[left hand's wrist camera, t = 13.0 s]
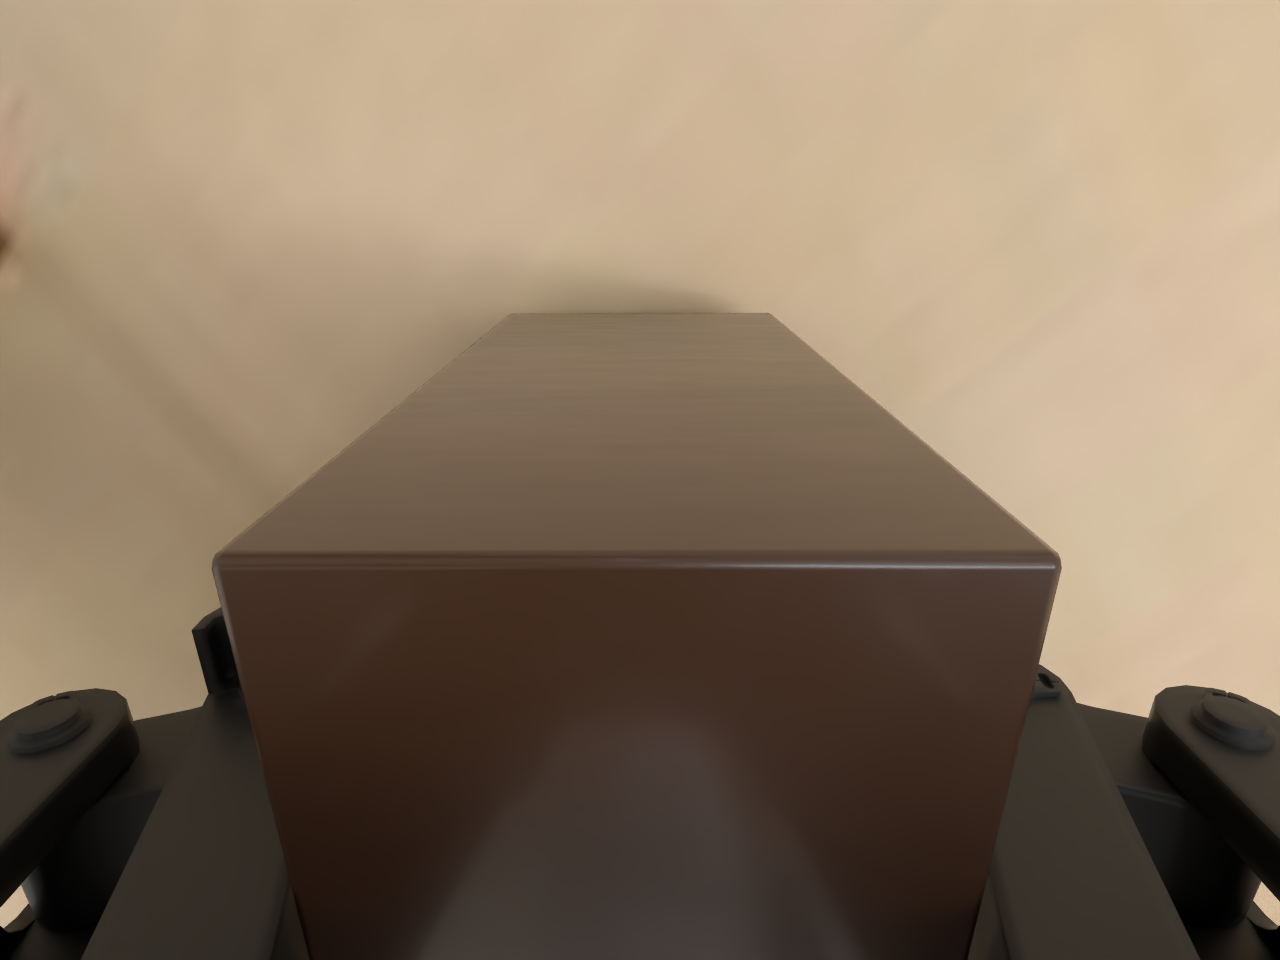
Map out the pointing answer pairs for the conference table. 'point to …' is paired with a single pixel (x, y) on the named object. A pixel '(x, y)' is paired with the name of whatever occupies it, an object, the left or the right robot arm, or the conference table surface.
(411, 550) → the beam
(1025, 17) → the conference table surface
